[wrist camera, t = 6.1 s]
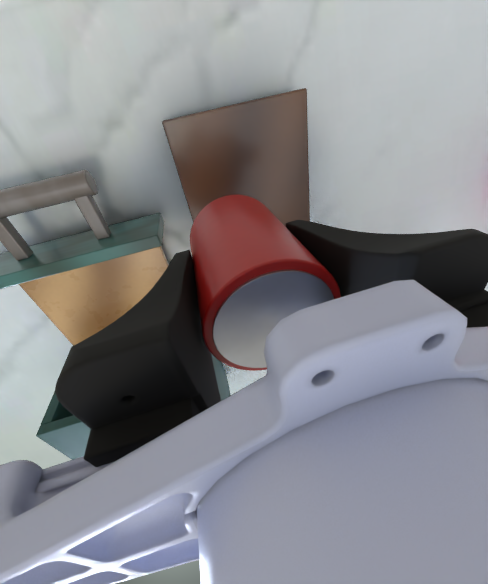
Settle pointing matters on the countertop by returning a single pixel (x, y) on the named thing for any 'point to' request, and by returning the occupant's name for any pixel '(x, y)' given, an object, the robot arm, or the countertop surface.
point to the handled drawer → (80, 258)
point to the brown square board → (246, 154)
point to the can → (250, 278)
